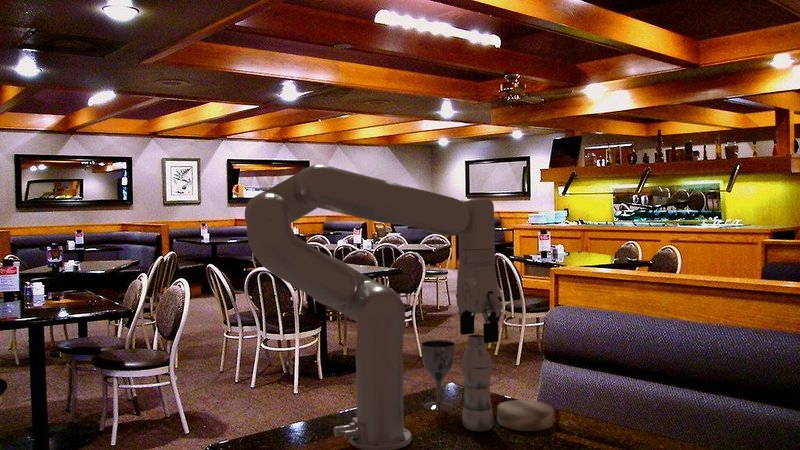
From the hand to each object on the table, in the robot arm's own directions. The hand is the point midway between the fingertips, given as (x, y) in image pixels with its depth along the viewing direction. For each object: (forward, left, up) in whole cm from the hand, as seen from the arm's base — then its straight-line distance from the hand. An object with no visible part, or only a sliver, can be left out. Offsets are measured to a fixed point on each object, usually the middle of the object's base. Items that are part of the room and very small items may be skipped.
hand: (478, 338), depth 141 cm
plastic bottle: (0, 0, -20) cm, 20 cm away
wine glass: (0, +18, -20) cm, 27 cm away
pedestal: (+12, 0, -20) cm, 23 cm away
